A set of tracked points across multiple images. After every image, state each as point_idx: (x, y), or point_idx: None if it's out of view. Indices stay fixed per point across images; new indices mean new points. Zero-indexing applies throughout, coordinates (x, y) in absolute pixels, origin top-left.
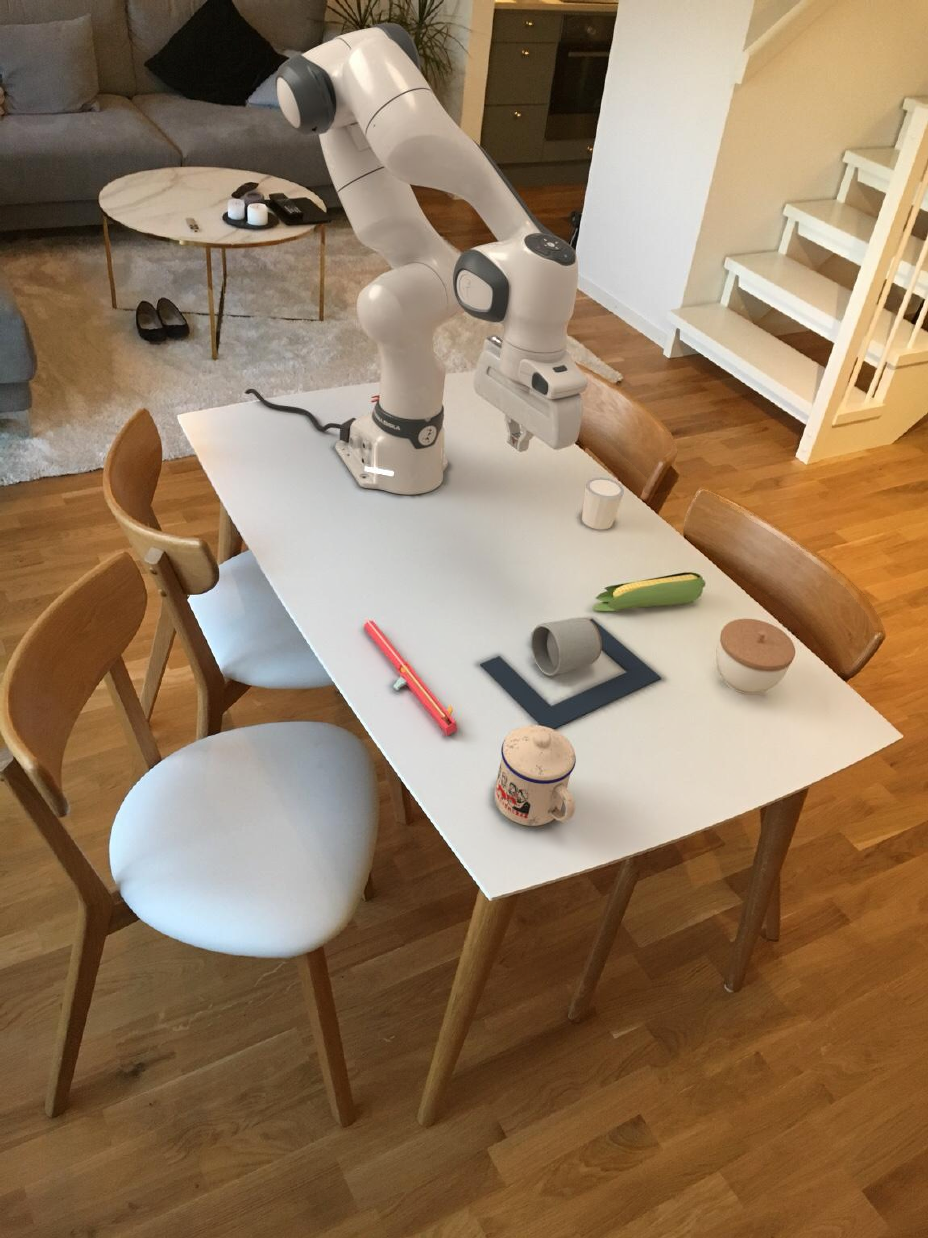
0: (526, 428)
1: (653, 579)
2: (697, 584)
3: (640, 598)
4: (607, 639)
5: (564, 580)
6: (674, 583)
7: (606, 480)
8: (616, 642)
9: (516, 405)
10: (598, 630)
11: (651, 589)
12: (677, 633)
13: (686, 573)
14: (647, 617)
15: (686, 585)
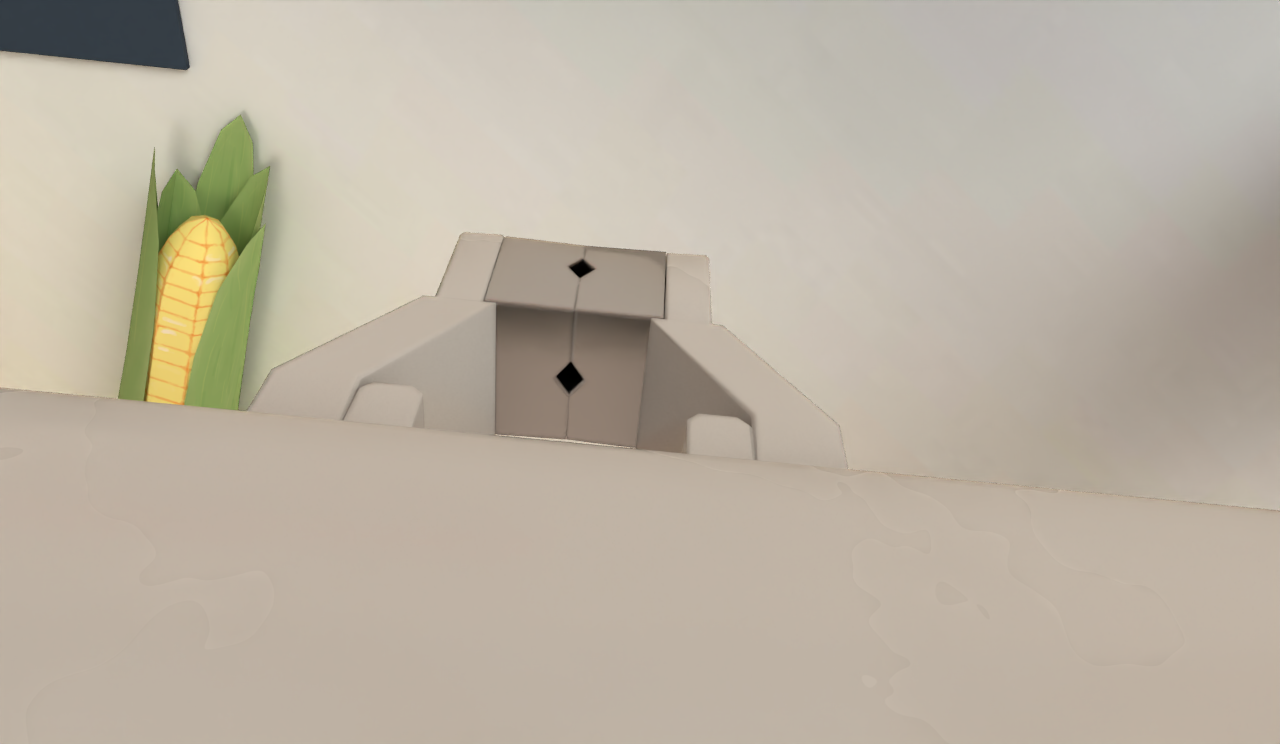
0: (89, 403)
1: (184, 393)
2: None
3: (137, 285)
4: (34, 17)
5: (468, 169)
6: None
7: None
8: (6, 36)
9: (410, 712)
10: (103, 31)
11: (140, 347)
12: (16, 281)
13: None
14: (134, 262)
15: None
